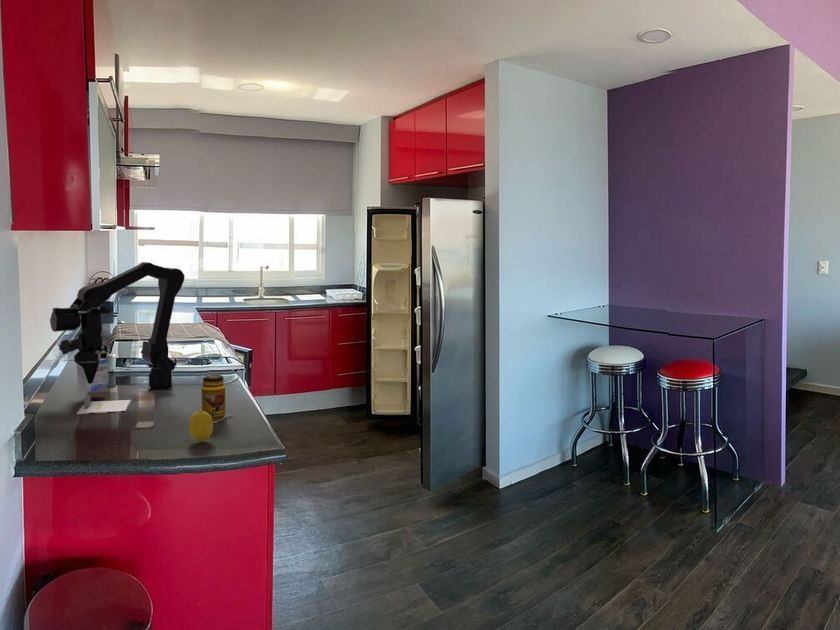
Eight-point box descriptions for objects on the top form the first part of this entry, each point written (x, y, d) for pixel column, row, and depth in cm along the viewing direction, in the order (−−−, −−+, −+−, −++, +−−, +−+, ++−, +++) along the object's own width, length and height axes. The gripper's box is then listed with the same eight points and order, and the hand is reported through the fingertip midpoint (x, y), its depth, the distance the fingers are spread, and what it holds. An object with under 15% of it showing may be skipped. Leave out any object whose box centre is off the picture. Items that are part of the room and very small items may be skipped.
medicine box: (90, 392, 178) (89, 363, 177) (77, 391, 179) (76, 362, 178) (109, 386, 186) (108, 358, 185) (96, 384, 187) (95, 357, 186)
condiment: (216, 424, 160) (215, 380, 159) (189, 420, 163) (189, 377, 162) (232, 417, 167) (232, 374, 166) (206, 413, 170) (206, 371, 168)
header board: (131, 401, 180) (130, 390, 180) (125, 411, 169) (124, 400, 168) (86, 403, 176) (85, 391, 176) (76, 414, 165) (76, 402, 165)
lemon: (192, 438, 148) (192, 406, 147) (215, 438, 149) (215, 407, 148) (186, 446, 143) (185, 413, 142) (210, 446, 143) (209, 413, 142)
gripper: (68, 325, 187) (70, 374, 188) (52, 334, 169) (55, 388, 171) (108, 324, 190) (110, 373, 192) (97, 333, 172) (99, 386, 174)
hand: (93, 379), depth 182 cm, fingers closed on medicine box, 9 cm apart
